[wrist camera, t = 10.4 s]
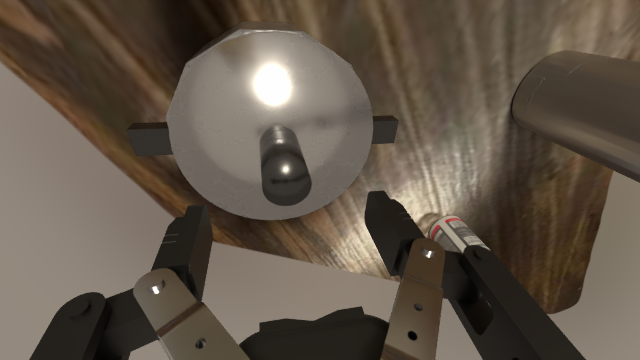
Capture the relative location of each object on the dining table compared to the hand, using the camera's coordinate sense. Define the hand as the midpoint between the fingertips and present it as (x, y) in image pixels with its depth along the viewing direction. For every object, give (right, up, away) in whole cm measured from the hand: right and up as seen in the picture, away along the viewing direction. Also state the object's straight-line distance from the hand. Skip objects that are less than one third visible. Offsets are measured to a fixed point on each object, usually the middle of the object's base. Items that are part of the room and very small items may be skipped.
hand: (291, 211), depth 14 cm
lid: (-2, +5, +8) cm, 10 cm away
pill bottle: (+21, -6, +30) cm, 37 cm away
